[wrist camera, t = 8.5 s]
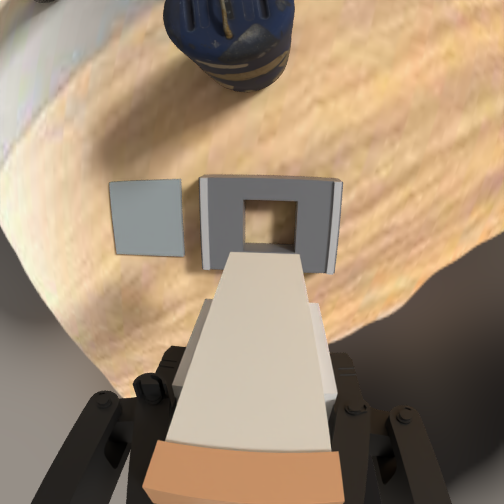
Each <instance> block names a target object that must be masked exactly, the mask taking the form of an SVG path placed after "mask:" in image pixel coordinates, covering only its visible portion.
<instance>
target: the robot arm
mask: <svg viewBox="0 0 504 504" xmlns="http://www.w3.org/2000/svg"><path fill="white" fill-rule="evenodd" d="M34 1H37V2H40V3H46V2H51V1H54V0H34ZM212 301H213V299H205V301H204V304H203V306H202V309H201V311H200V314H199V316H198V319H197V321H196V324H195V326H194V329H193V331H192V334H191V337H190V339H189V342H188V344H187V347H179V346H171V347H170V348H169V349H168V350H167V351H165V353H164V355H163V357H162V361H161V362H160V364H159V367H158V368H157V370H156V373H145V374H142V375H140V376H138V377H137V378H136V379H135V380H134V382H133V387H134V390H135V393H136V396H137V397H134V398H122V399H119V398H118V396H117V395H116V394H115V393H113V392H111V391H100V392H97V393H95V394H94V395H93V396H92V397H91V398H90V400H89V401H88V403H87V405H86V406H85V408H84V409H83V411H82V413H81V414H80V416H79V418H78V420H77V421H76V423H75V425H74V426H73V428H72V430H71V431H70V433H69V435H68V436H67V438H66V440H65V442H64V444H63V445H62V447H61V449H60V451H59V452H58V454H57V456H56V458H55V459H54V461H53V463H52V465H51V467H50V468H49V470H48V472H47V474H46V476H45V478H44V479H43V481H42V484H41V485H40V487H39V489H38V491H37V493H36V495H35V497H34V499H33V500H32V502H31V504H109V502H110V499H111V496H112V494H113V491H114V489H115V487H116V484H117V482H118V479H119V477H120V474H121V472H122V469H123V467H124V464H125V462H126V460H127V457H128V455H129V452H130V450H131V452H130V462H129V473H128V485H127V500H126V504H156V503H153V502H152V501H151V499H150V498H149V496H148V495H147V493H146V492H145V490H144V489H143V487H142V486H143V483H144V480H145V477H146V474H147V471H148V468H149V465H150V462H151V459H152V456H153V453H154V450H155V447H156V444H157V441H158V440H160V441H165V440H166V436H167V433H168V430H169V427H170V424H171V421H172V418H173V415H174V412H175V409H176V406H177V403H178V400H179V397H180V394H181V391H182V388H183V385H184V382H185V379H186V376H187V373H188V370H189V368H190V365H191V362H192V359H193V356H194V353H195V350H196V347H197V344H198V341H199V338H200V336H201V333H202V330H203V327H204V324H205V321H206V318H207V315H208V313H209V310H210V307H211V304H212ZM309 307H310V312H311V318H312V324H313V329H314V335H315V341H316V347H317V353H318V359H319V366H320V372H321V379H322V385H323V392H324V399H325V406H326V413H327V420H328V428H329V435H330V443H331V452H336V451H338V452H339V459H340V467H341V474H342V482H343V491H344V500H345V501H344V503H343V504H364V496H365V488H366V487H365V486H366V478H367V466H368V455H371V456H372V460H373V464H374V469H375V474H376V478H377V483H378V487H379V492H380V497H381V502H382V504H452V503H451V500H450V497H449V494H448V491H447V488H446V485H445V482H444V479H443V476H442V473H441V470H440V467H439V464H438V462H437V459H436V456H435V453H434V451H433V448H432V445H431V443H430V440H429V438H428V435H427V432H426V430H425V427H424V425H423V422H422V420H421V417H420V415H419V414H418V412H417V411H416V410H415V409H414V408H412V407H410V406H407V405H399V406H396V407H395V408H393V409H392V410H391V412H388V411H381V410H377V409H374V408H372V407H370V405H369V404H368V403H367V402H366V401H365V400H363V398H362V395H361V391H360V387H359V383H358V380H357V376H356V372H355V369H354V366H353V362H352V359H351V358H350V357H349V356H348V355H347V354H346V353H329V349H328V344H327V339H326V335H325V330H324V326H323V321H322V317H321V312H320V308H319V304H318V303H309Z"/></svg>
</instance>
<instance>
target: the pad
mask: <svg viewBox="0 0 504 504" xmlns="http://www.w3.org/2000/svg"><path fill="white" fill-rule="evenodd" d="M109 187H110V199H111V210H112V220H113V228H114V237H115V244H116V252H117V254H133V255H156V256H181V257H184V256H185V249H184V232H183V214H182V190H181V179H161V180H136V181H117V182H109Z"/></svg>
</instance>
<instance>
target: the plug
mask: <svg viewBox="0 0 504 504" xmlns="http://www.w3.org/2000/svg"><path fill="white" fill-rule="evenodd" d="M142 487H143V489H144V490H145V492H146V493H147V495H148V496H149V498H150V499H151V501H152V502H153V503H156V504H343V503H344V501H345V500H344V491H343V482H342V474H341V467H340V459H339V452H338V451H336V452H331V443H330V435H329V428H328V420H327V413H326V406H325V399H324V392H323V385H322V379H321V372H320V366H319V359H318V353H317V347H316V341H315V335H314V329H313V324H312V318H311V312H310V307H309V301H308V296H307V290H306V285H305V280H304V275H303V270H302V264H301V259H300V254H277V253H247V252H230V254H229V257H228V259H227V262H226V265H225V268H224V270H223V273H222V276H221V279H220V282H219V284H218V287H217V290H216V293H215V296H214V298H213V301H212V304H211V307H210V310H209V313H208V315H207V318H206V321H205V324H204V327H203V330H202V333H201V336H200V338H199V341H198V344H197V347H196V350H195V353H194V356H193V359H192V362H191V365H190V368H189V370H188V373H187V376H186V379H185V382H184V385H183V388H182V391H181V394H180V397H179V400H178V403H177V406H176V409H175V412H174V415H173V418H172V421H171V424H170V427H169V430H168V433H167V436H166V440H165V441H160V440H158V441H157V444H156V447H155V450H154V453H153V456H152V459H151V462H150V465H149V468H148V471H147V474H146V477H145V480H144V483H143V486H142Z"/></svg>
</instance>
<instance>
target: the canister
mask: <svg viewBox="0 0 504 504" xmlns="http://www.w3.org/2000/svg"><path fill="white" fill-rule="evenodd" d="M294 12H295V6H294V0H166V1H165V4H164V10H163V20H164V25H165V29H166V31H167V34H168V36H169V38H170V39H171V41H172V42H173V43H174V44H175V45H176V46H177V48H179V49H180V50H181V51H182V52H183V53H184V54H185V55H187V56H188V57H189V58H190V59H191V60H193V61H194V62H195V63H196V64H197V65H198V66H199V67H200V68H201V69H202V70H203V71H204V72H205V73H207V74H208V75H209V76H210V77H212V78H213V79H214V80H215V81H216V82H217V83H219V84H220V85H222V86H224V87H226V88H228V89H231V90H234V91H240V92H252V91H257V90H260V89H263V88H265V87H267V86H269V85H270V84H272V83H273V82H275V81H276V80H277V79H278V78H279V77H280V75H281V74H282V73H283V71H284V69H285V67H286V65H287V61H288V57H289V53H290V47H291V34H292V28H293V20H294Z"/></svg>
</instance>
